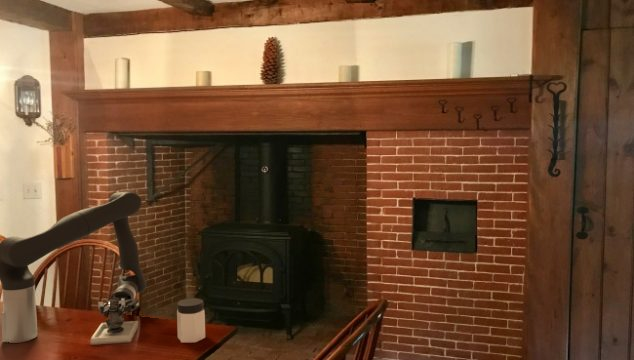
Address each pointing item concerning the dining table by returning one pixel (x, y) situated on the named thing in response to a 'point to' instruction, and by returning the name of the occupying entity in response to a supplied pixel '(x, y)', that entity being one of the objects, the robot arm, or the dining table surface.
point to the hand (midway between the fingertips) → (112, 313)
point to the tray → (114, 334)
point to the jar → (191, 320)
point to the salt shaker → (114, 317)
